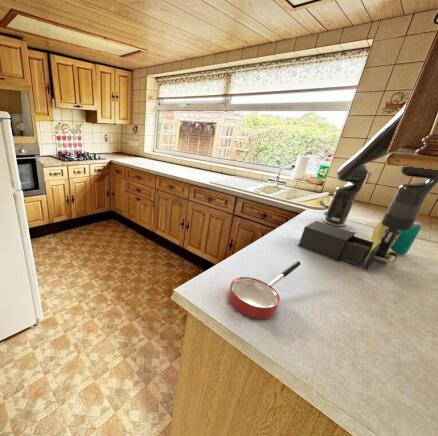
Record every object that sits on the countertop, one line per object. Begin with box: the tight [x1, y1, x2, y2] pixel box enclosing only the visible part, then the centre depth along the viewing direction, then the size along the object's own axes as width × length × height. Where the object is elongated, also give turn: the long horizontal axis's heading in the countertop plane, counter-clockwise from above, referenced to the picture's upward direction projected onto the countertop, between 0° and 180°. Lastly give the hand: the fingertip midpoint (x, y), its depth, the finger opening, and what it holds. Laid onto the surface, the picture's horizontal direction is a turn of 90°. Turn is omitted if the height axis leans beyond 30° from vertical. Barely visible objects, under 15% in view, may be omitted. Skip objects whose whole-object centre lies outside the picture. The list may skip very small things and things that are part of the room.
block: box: [353, 242, 370, 259], centre depth 93 cm, size 5×5×5 cm
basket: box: [339, 235, 395, 271], centre depth 92 cm, size 18×11×8 cm, turn 37°
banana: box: [370, 220, 399, 265], centre depth 95 cm, size 23×6×20 cm, turn 149°
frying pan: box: [228, 260, 301, 320], centre depth 73 cm, size 32×13×6 cm, turn 130°
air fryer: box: [298, 220, 356, 262], centre depth 101 cm, size 15×13×10 cm
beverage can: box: [390, 220, 422, 257], centre depth 100 cm, size 6×6×15 cm
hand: (379, 257), depth 88 cm, fingers closed
